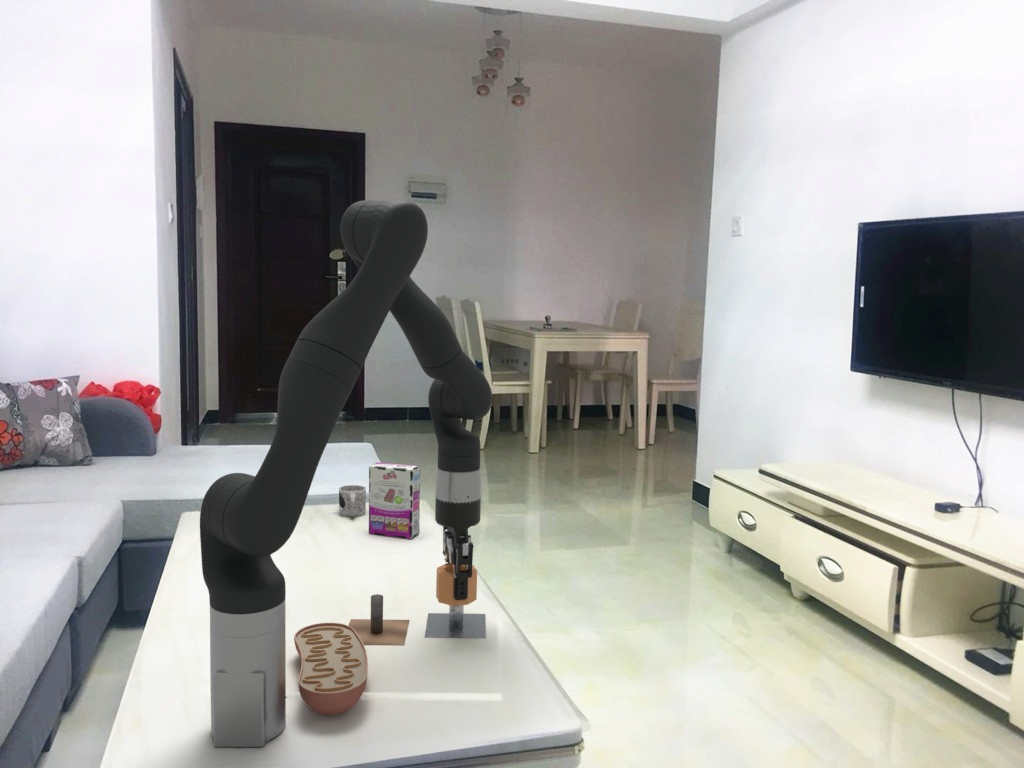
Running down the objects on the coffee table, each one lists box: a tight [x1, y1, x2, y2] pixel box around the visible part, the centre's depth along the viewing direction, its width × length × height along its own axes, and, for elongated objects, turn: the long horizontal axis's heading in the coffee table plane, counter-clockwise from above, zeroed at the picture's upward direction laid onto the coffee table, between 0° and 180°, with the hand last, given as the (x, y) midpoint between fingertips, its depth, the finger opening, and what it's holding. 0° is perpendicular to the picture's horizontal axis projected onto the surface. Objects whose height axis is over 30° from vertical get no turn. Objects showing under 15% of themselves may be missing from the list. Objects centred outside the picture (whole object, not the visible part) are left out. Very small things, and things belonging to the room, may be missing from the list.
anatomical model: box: [293, 622, 369, 717], centre depth 117 cm, size 23×10×5 cm, turn 17°
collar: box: [435, 562, 478, 606], centre depth 136 cm, size 6×6×5 cm
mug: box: [338, 484, 367, 518], centre depth 204 cm, size 10×7×7 cm, turn 12°
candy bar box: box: [368, 462, 421, 540], centre depth 189 cm, size 11×5×16 cm, turn 73°
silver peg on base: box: [424, 605, 487, 639], centre depth 137 cm, size 10×10×7 cm
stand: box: [347, 593, 411, 647], centre depth 133 cm, size 10×10×7 cm
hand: (456, 591), depth 137 cm, fingers closed on collar, 6 cm apart
